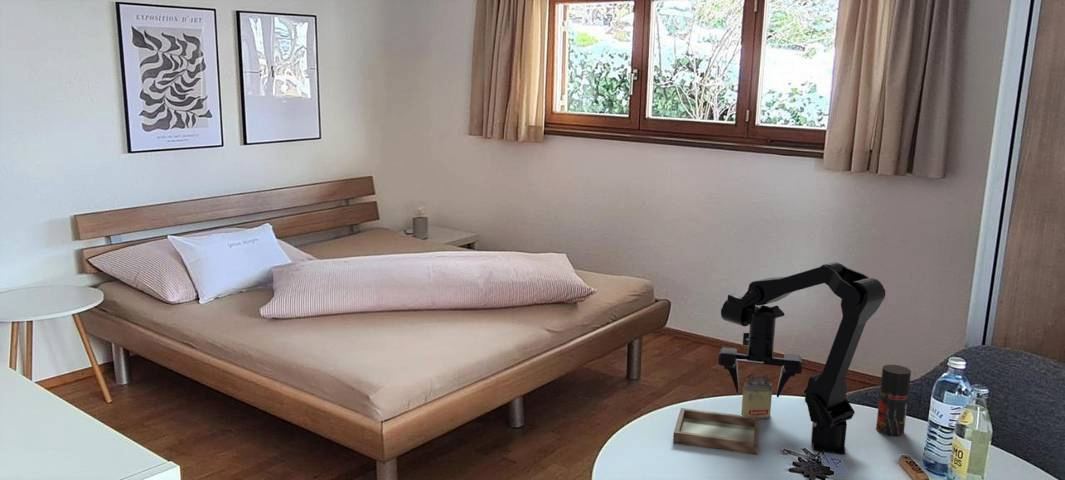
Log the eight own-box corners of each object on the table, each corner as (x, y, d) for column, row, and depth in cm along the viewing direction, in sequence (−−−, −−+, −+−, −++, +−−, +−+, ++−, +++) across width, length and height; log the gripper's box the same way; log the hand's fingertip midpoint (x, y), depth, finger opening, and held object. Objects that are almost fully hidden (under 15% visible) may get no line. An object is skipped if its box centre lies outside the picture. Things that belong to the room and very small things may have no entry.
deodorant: (905, 438, 191) (912, 375, 188) (877, 434, 193) (884, 372, 189) (901, 427, 197) (908, 366, 193) (874, 424, 198) (881, 363, 195)
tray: (758, 428, 195) (759, 417, 194) (757, 454, 182) (758, 443, 181) (680, 418, 200) (680, 407, 199) (673, 443, 187) (673, 432, 186)
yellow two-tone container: (744, 420, 199) (747, 380, 197) (738, 413, 203) (740, 374, 201) (772, 418, 200) (776, 378, 198) (766, 412, 204) (769, 372, 202)
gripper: (802, 325, 202) (797, 386, 206) (723, 317, 207) (719, 378, 211) (804, 339, 192) (798, 404, 195) (720, 331, 197) (716, 394, 200)
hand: (757, 394), depth 200 cm, fingers open, 9 cm apart
